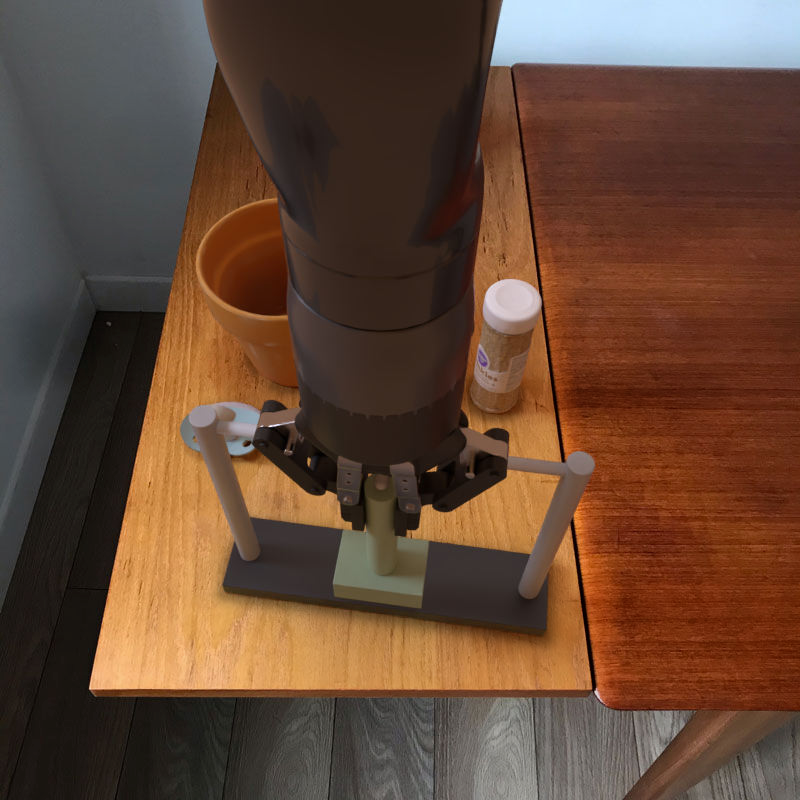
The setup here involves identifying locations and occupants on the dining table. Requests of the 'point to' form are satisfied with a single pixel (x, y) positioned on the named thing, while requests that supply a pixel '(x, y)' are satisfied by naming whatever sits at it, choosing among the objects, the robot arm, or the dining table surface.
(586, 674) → the dining table surface
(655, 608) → the dining table surface
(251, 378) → the dining table surface
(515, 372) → the sprinkles bottle
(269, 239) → the flower pot
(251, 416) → the pacifier
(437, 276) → the robot arm
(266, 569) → the rack
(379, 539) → the peg on square base
